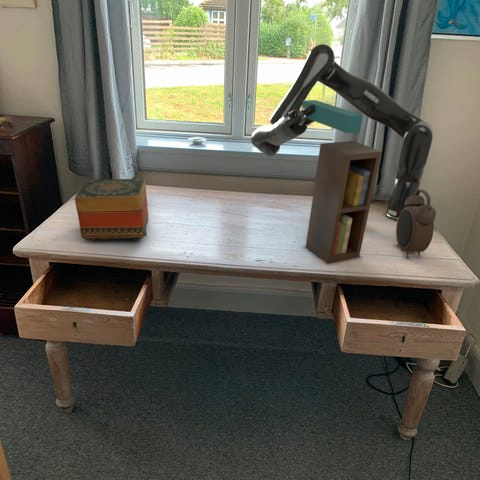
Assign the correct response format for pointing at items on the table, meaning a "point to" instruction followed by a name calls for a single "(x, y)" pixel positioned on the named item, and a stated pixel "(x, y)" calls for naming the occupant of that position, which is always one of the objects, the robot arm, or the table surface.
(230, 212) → the table surface
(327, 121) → the pencil box
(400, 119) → the robot arm
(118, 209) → the decorative box
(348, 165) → the bookcase
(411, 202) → the alarm clock
